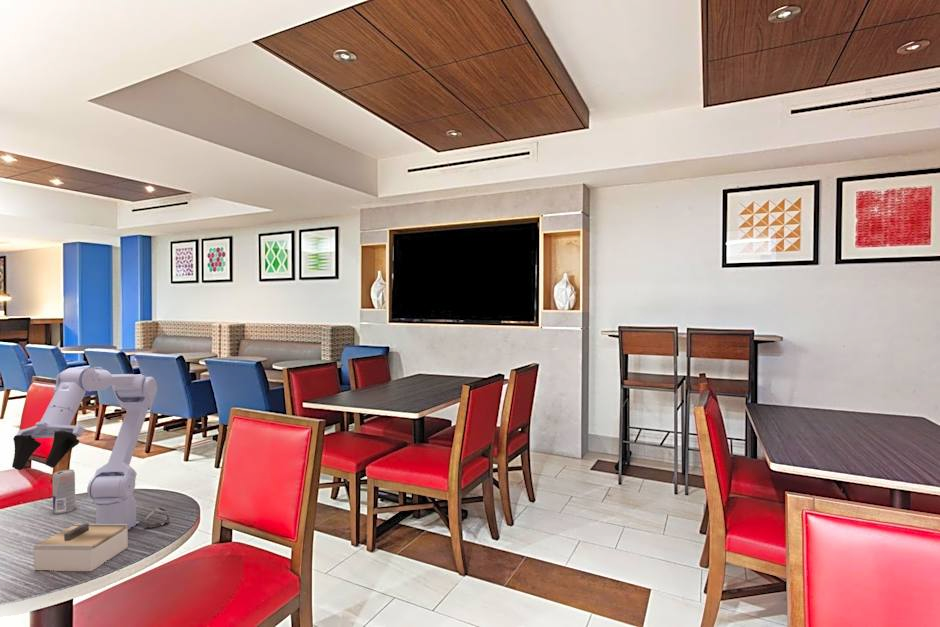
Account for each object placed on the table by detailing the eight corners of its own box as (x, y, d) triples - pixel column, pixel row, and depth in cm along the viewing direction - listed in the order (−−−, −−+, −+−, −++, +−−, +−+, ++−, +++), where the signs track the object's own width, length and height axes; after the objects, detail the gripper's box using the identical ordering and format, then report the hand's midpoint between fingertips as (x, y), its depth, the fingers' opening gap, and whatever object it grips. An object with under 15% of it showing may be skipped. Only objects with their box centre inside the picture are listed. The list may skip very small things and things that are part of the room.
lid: (72, 528, 131) (72, 519, 131) (124, 528, 130) (124, 520, 130) (37, 546, 120) (37, 537, 120) (94, 547, 120) (93, 538, 120)
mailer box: (75, 546, 132) (75, 523, 132) (127, 547, 131) (127, 524, 131) (34, 570, 120) (33, 545, 120) (91, 571, 119) (91, 546, 119)
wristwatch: (170, 524, 145) (170, 507, 145) (145, 531, 141) (145, 513, 141) (167, 520, 148) (167, 503, 147) (142, 527, 143) (142, 509, 143)
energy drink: (64, 506, 158) (64, 468, 158) (79, 507, 158) (79, 469, 158) (48, 513, 153) (47, 474, 153) (63, 514, 152) (63, 475, 152)
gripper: (18, 406, 119) (-13, 462, 110) (79, 402, 118) (52, 458, 110) (40, 420, 124) (12, 474, 116) (98, 416, 124) (74, 469, 115)
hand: (33, 467), depth 113 cm, fingers open, 7 cm apart
